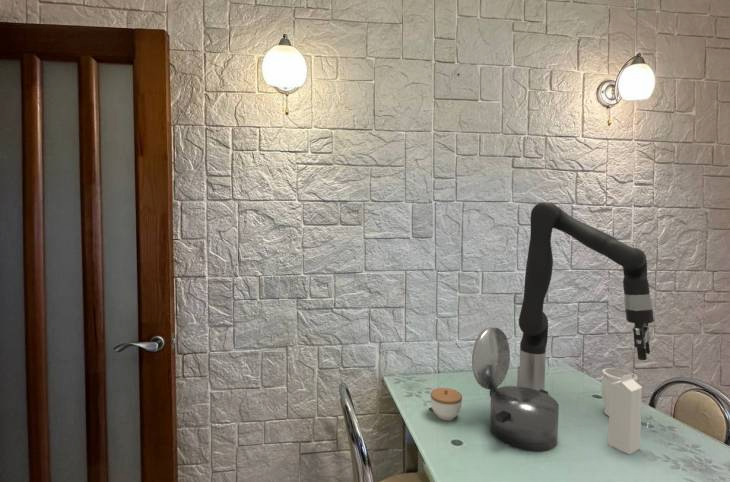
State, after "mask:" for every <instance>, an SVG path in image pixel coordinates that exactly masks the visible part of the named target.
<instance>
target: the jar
mask: <svg viewBox="0 0 730 482" xmlns="http://www.w3.org/2000/svg"><path fill="white" fill-rule="evenodd" d="M601 373H602V375H603V377H602V381H601V393H602V394H601V395H602V402H603V405H604V407H605V408H604V410H603V412H604V414H605V415H607V416H608V417H609V408H610V384H612V383H615V382H618V381H620V380H621V377H623V376H625V375H628V374H632V379H633V380H634V381H635V382H637V381H638V379H639V378H638V375H636V374H635V373H633V372H631V371H629V370H628V371H627V370H625V369H621V368H613V367H611V368H610V367H608V368H607V367H606V368H604V369H602V371H601Z"/></svg>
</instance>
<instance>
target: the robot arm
mask: <svg viewBox="0 0 730 482" xmlns="http://www.w3.org/2000/svg"><path fill="white" fill-rule="evenodd" d="M553 229H555V230H557V231H560V232H562V233H565V234H567V235H568V236H570V237H572V238H573V239H574V240H576V241H577V242H579V243H580V244H582V245H583V246H585V247H587V248H589V249H590V250H592V251H595V252H596V253H598V254H600V255H602V256H604V257H607V258H608V259H610V261H613V262H614V263H615V264H617V265H619V266H621V267H622V269H623V279H622V280H623V281H622V285H623V293H624V295H623V297H624V300H623V302H624V303H623V304H624V310H625V311H624V312H625V319H626V322H627V323H631V324H632V323H633V324H634V327H633V328H632V333H633V342H634V347H635V348H636V351H637V352H636V353H637V359H638V360H640V361H646V360H647V355H649V354H651V349H650V341H651V335H650V327H649V324H652V323H654V322H655V319H654V317H655V316H654V311H653V301H652V297H651V295H650V294H651V293H650V285H649V279H648V261H647V256H646V253H645V252H644V251H643V250H642V249H640V248H637V247H633V246H630V245H628V244H625V243H623V242H621V241H619V240H618V239H616V237H614V236H612V235H610V234H608V233H606V232H604V231H602V230H599V229H598V228H596V227H593V226H591V225H589V224H586V223H584V222H582V221H580V220H578V219H576V218H575V217H573V216H571V215H570V214H569V213H567V212H566V211H564V210H563V209H561V208H560V207H558V206H557V204H555V203H552V202H545V201H544V202H542V201H541V202H539V203H537V204H535V205H534V206H533V207H532V209H531V212H530V238H529V243H528V244H529V245H528V251H527V258H526V266H525V275H524V276H525V277H524V285H523V286H524V287H523V298H522V299H523V300H522V305H521V309H520V314H519V317H518V325H519V329H520V330H521V332H522V337H521V341H520V343H519V344H520V345H519V366H518V367H517V375H516V376H517V379H516V380H517V381H516V382H517V383H516V386H518V387H526V388H530V389H534V390H538V391H539V390H541V389H542V390H545V387H546V386H545V385H546V384H545V383H546V382H545V381H546V351H547V345H548V336H549V334H548V332H549V320H548V317H547V314H545V312H544V303H545V298H546V296H547V293H548V290H549V288H550V284H551V281H552V275H553V268H554V267H553V266H554V259H553V257H554V256H553V251H552V249H553V248H552V241H551V240H552V239H551V238H552V233H553Z"/></svg>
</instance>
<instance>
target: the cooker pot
mask: <svg viewBox="0 0 730 482" xmlns="http://www.w3.org/2000/svg"><path fill="white" fill-rule="evenodd" d="M489 397H490V407H489V409H490V410H489V411H490V413H489V414H490V415H489V430H490V432H491V434H492V435H493V437H494V438H495V439H497V440H498V441H500V442H501V443H502V444H504V445H506V446H509V447H512V448H515V449H518V450H522V451H527V452H537V453H538V452H547V451H550V450H552V449H554V448H555V447H556V446H557V444H558V442H559V441H558V440H559V415H560V414H559V413H560V412H559V411H560V410H559V409H560V406H559V403H558V401H557V400H556V399H555V398H554V397H552V396H551V395H549V391H547V390H545V389H544V390H542V389H541V390H539V391H538V390H534V389H530V388H526V387H518V386H517V385H515V386H514V385H509V386H507V385H506V386H499V387H497V388H496V389H492V390H490V389H489Z"/></svg>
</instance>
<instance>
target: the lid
mask: <svg viewBox="0 0 730 482" xmlns="http://www.w3.org/2000/svg"><path fill="white" fill-rule="evenodd" d="M472 349H473V350H472V354H471V355H472V357H471V366H472V373H473V376H474V378H475V381H476V383H477V384H478V385H479V386H480V387H481V388H483V389H487V390H489V391H490V390H492V389H496V388H499V387H501V385H502V384H503V382H504V381H505V379H506V378H507V377H506V376H507V375H508V370H509V367H510V361H511V354H510V353H511V351H510V344H509V341H508V338H507V335H506V334H505V332H504V331H503V330H502V329H500V328H498V327H491V326H490V327H486V328H485V329H483V330H482V331H481V332H480V334H479V335H478V337H477V338H476V340H475V342H474V346H473V348H472Z"/></svg>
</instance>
